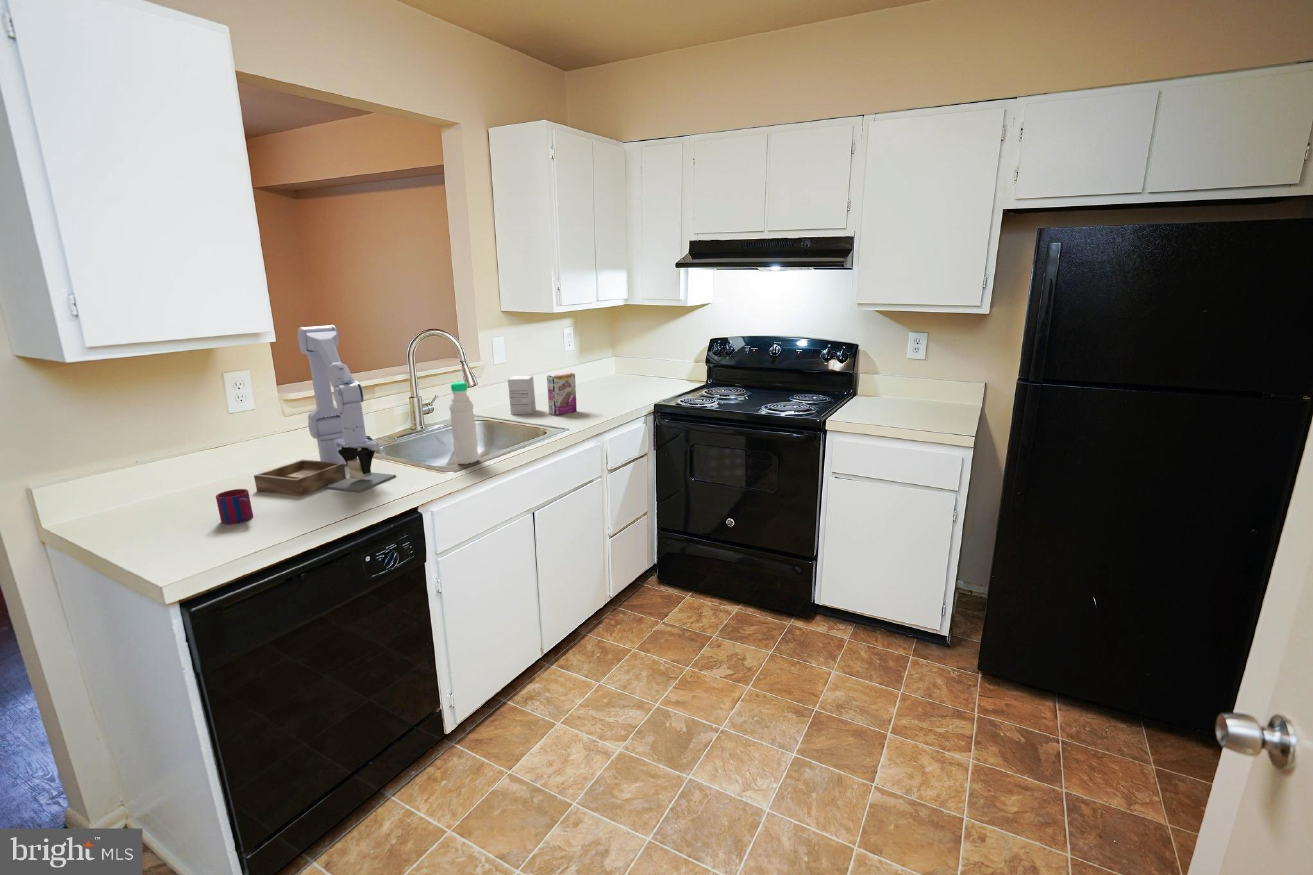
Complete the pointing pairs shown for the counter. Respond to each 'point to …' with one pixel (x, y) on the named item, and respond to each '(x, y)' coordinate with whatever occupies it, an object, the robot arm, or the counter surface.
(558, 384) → the candy bar box
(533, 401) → the supplement box
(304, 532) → the counter surface
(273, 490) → the walnut crate
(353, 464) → the birch block
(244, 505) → the mug
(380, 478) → the grey mat
